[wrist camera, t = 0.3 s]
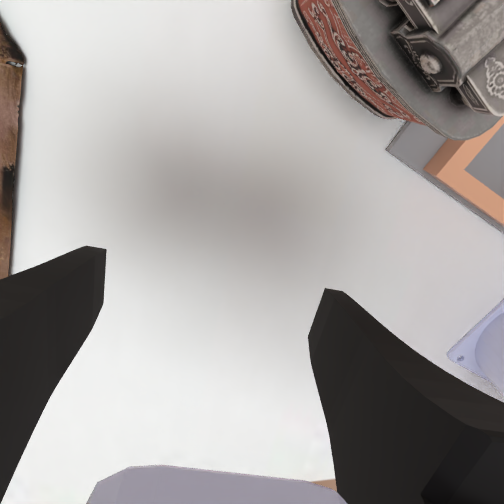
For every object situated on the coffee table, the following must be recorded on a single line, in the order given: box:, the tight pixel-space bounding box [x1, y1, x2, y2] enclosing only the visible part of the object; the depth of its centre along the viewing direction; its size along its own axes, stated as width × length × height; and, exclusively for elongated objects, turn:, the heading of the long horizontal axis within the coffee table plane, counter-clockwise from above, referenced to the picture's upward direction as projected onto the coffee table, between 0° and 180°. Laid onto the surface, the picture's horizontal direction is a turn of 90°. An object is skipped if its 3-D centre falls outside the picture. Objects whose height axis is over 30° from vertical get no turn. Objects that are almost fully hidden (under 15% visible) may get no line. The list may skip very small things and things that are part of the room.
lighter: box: [291, 0, 504, 140], centre depth 14 cm, size 8×3×10 cm, turn 46°
